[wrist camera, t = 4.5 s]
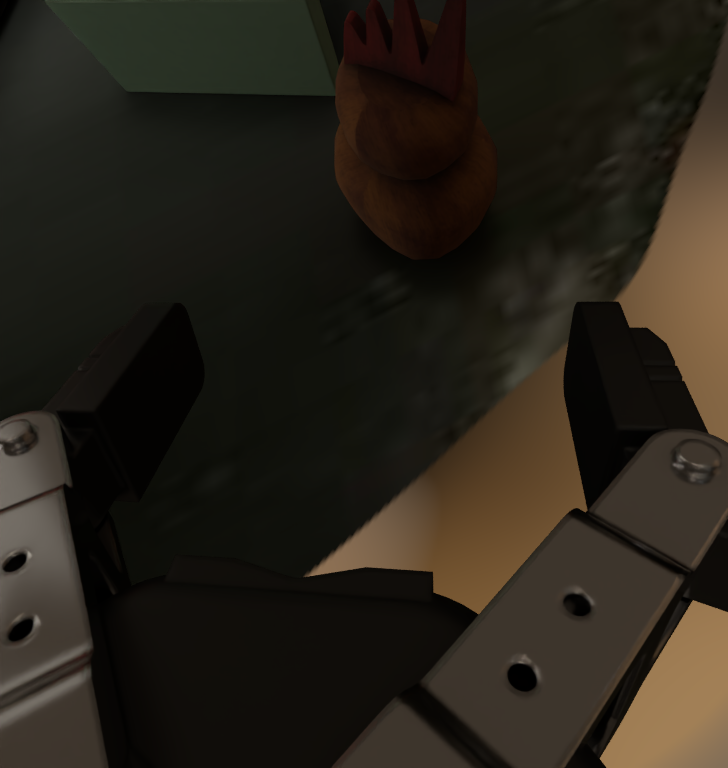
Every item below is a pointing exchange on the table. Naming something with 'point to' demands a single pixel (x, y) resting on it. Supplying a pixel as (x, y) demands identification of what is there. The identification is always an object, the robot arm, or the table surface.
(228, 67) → the desk shelf
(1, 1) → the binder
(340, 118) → the wooden figurine
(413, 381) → the table surface
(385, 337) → the table surface
